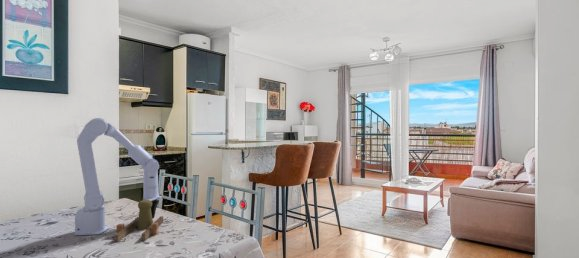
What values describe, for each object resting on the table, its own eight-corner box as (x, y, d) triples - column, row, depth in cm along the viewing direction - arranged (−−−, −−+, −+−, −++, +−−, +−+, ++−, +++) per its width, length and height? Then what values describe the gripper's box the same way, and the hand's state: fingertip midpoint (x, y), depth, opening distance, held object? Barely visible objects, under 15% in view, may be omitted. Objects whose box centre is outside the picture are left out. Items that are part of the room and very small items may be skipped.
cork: (147, 230, 123) (146, 202, 123) (133, 229, 124) (133, 201, 124) (156, 225, 129) (156, 198, 129) (143, 224, 130) (143, 198, 130)
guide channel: (108, 242, 111) (108, 231, 111) (132, 223, 132) (132, 213, 132) (151, 240, 112) (150, 229, 112) (168, 222, 133) (168, 212, 133)
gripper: (154, 189, 126) (155, 223, 126) (165, 182, 141) (165, 213, 141) (136, 190, 125) (137, 223, 126) (149, 183, 140) (149, 213, 140)
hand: (151, 218), depth 133 cm, fingers closed
